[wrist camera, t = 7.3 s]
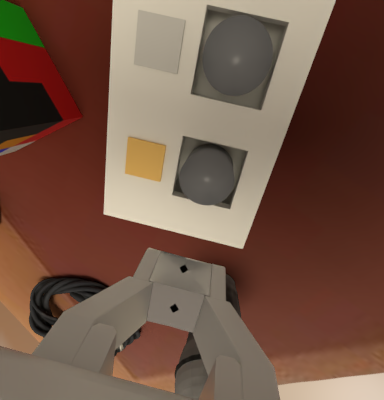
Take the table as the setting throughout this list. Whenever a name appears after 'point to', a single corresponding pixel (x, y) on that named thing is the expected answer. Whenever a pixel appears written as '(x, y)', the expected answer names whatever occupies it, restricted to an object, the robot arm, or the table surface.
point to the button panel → (198, 109)
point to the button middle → (237, 55)
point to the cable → (75, 286)
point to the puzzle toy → (28, 84)
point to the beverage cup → (198, 356)
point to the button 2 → (207, 175)
